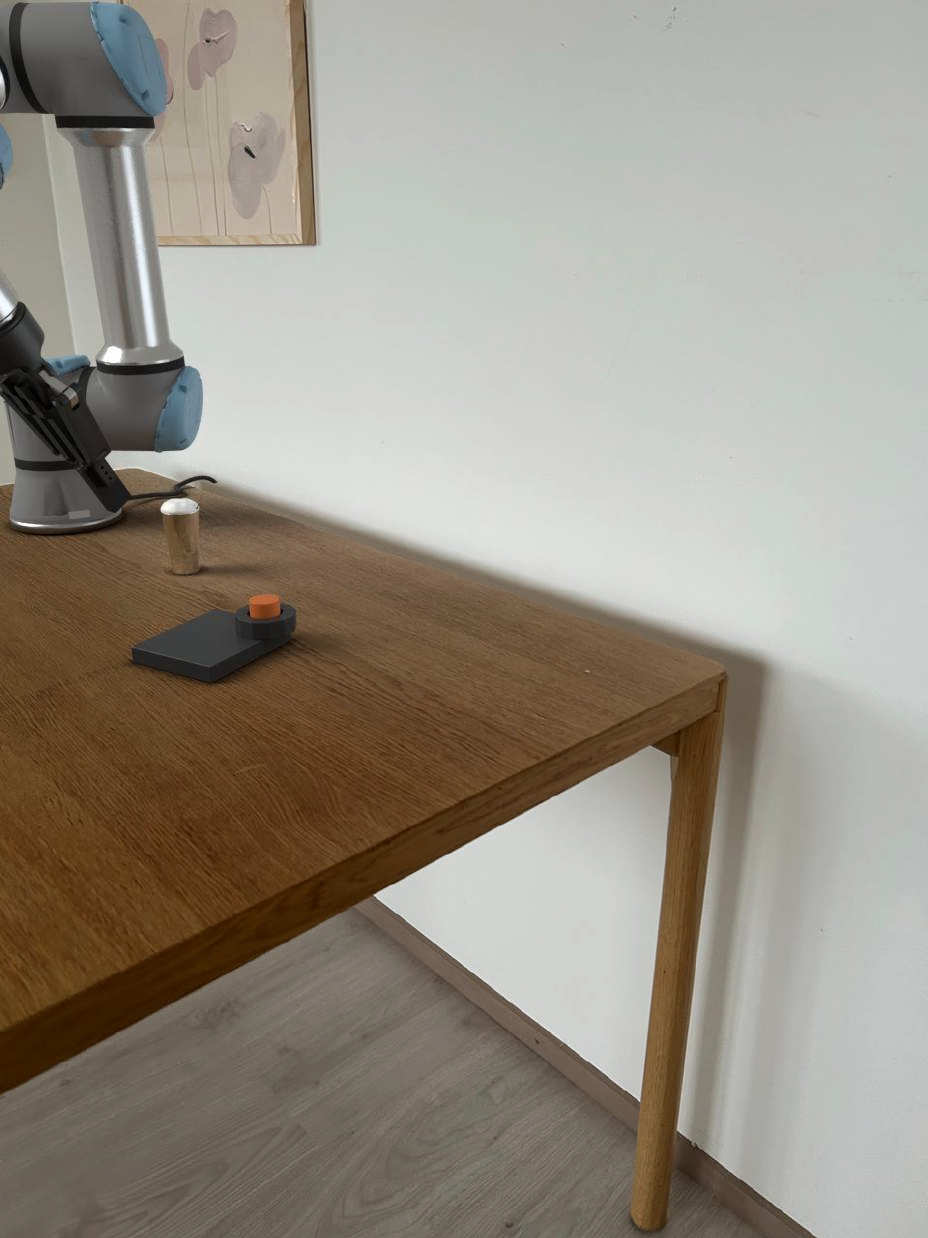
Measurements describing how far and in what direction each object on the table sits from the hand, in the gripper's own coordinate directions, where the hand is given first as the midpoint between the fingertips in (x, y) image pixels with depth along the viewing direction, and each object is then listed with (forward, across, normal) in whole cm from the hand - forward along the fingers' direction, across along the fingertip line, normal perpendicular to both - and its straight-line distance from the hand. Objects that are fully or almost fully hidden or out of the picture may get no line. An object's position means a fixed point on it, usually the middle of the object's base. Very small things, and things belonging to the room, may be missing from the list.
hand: (119, 503), depth 104 cm
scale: (+7, +19, -9) cm, 22 cm away
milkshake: (+16, -3, +3) cm, 17 cm away
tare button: (+6, +22, -3) cm, 23 cm away
